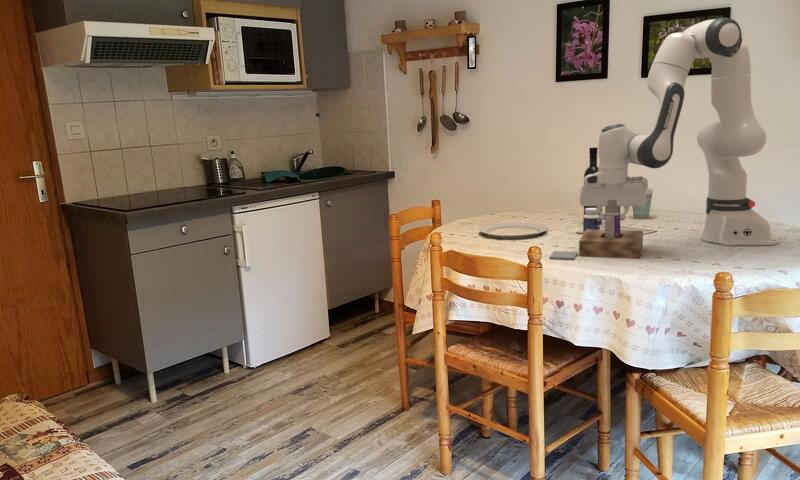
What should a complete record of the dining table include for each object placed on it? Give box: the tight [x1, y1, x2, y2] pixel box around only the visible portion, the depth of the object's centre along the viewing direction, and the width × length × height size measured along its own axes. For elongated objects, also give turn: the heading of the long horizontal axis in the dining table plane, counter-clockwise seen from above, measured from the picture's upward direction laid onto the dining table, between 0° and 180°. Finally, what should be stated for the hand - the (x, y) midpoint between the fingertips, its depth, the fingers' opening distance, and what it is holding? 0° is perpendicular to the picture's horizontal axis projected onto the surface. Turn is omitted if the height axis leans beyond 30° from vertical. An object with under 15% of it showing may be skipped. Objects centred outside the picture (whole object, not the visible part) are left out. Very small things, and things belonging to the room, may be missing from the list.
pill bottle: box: [582, 208, 601, 235], centre depth 225 cm, size 6×6×10 cm
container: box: [604, 200, 621, 238], centre depth 201 cm, size 5×5×15 cm
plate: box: [478, 221, 548, 239], centre depth 239 cm, size 26×26×2 cm
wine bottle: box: [583, 147, 603, 225], centre depth 243 cm, size 6×6×30 cm
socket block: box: [578, 229, 644, 259], centre depth 202 cm, size 18×18×5 cm
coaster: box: [549, 250, 579, 261], centre depth 199 cm, size 8×8×1 cm
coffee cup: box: [631, 187, 654, 220], centre depth 252 cm, size 8×8×12 cm
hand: (612, 219), depth 201 cm, fingers closed on container, 5 cm apart
